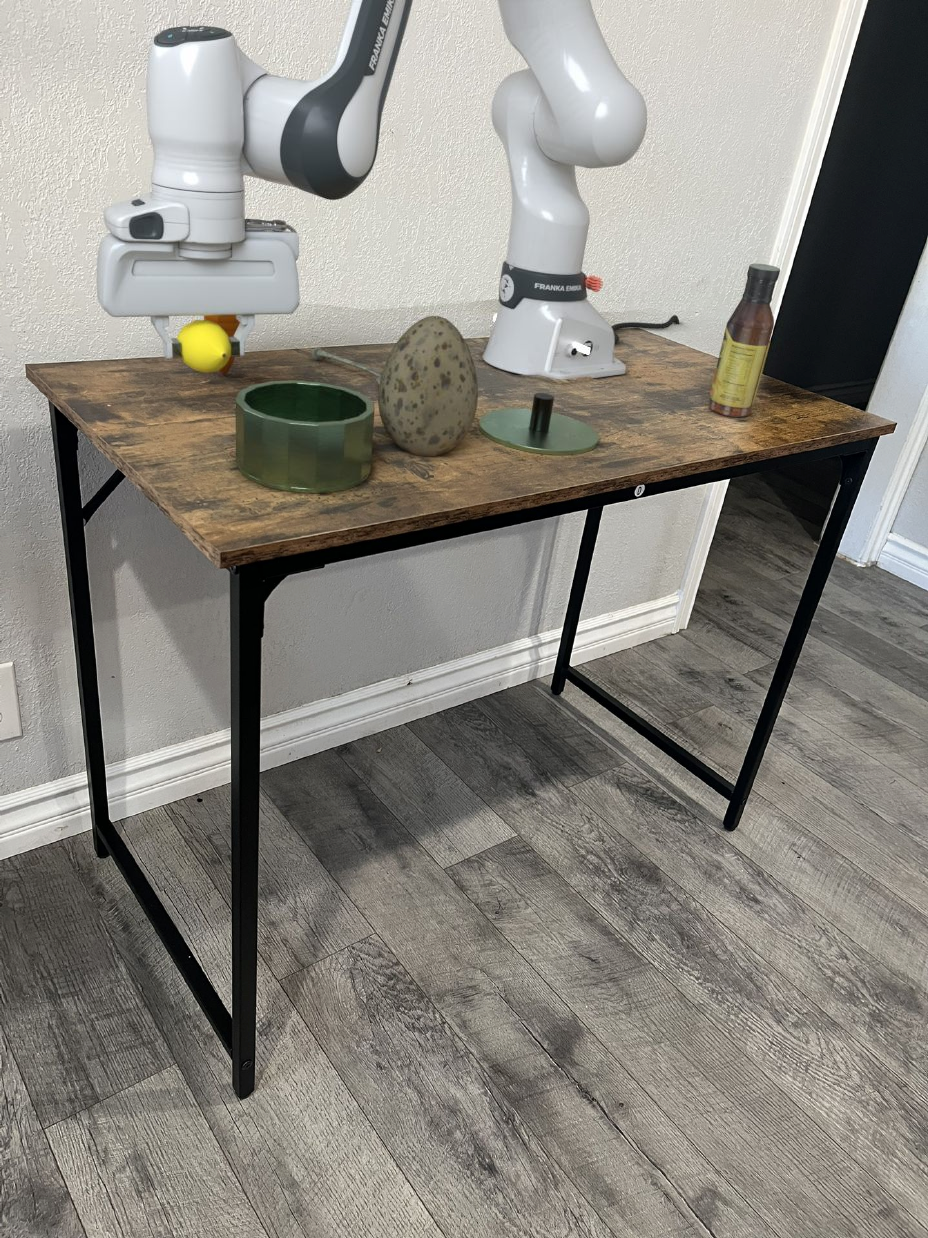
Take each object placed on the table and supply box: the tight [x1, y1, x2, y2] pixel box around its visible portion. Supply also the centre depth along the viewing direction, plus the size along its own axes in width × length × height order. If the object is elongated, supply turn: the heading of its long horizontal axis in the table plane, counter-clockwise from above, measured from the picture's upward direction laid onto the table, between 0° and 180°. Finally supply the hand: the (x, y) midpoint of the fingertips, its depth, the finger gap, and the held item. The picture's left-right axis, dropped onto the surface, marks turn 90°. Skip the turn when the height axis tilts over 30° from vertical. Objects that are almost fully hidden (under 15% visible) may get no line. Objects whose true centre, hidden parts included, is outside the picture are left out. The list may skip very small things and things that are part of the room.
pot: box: [235, 380, 375, 494], centre depth 96 cm, size 14×14×7 cm
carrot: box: [203, 315, 240, 376], centre depth 118 cm, size 5×5×15 cm
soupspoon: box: [311, 347, 382, 385], centre depth 126 cm, size 22×3×7 cm
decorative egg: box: [377, 315, 479, 457], centre depth 102 cm, size 11×11×15 cm
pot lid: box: [478, 392, 600, 456], centre depth 113 cm, size 15×15×5 cm
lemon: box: [176, 319, 231, 374], centre depth 100 cm, size 7×5×5 cm
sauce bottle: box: [708, 263, 781, 418], centre depth 129 cm, size 7×6×20 cm
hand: (204, 356), depth 101 cm, fingers closed on lemon, 5 cm apart
